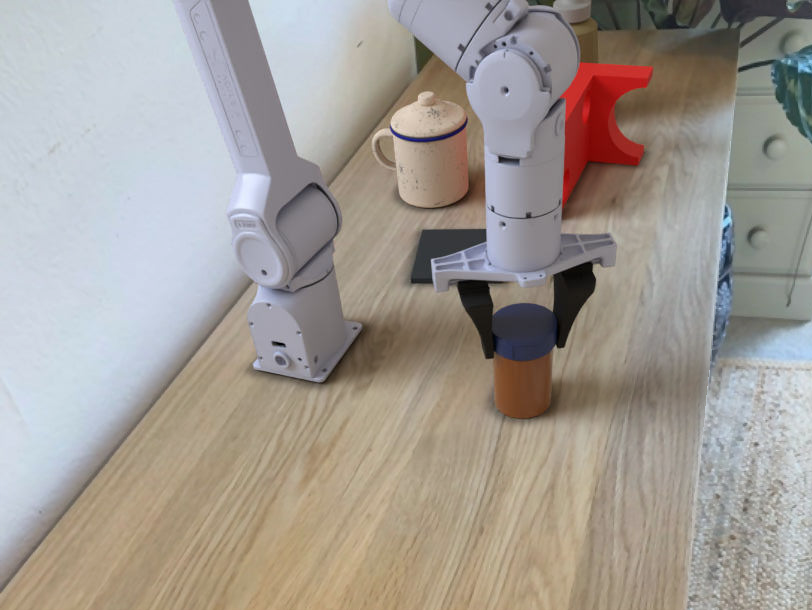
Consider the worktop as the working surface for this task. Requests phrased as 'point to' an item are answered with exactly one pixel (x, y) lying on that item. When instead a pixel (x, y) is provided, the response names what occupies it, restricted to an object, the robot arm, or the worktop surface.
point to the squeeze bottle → (581, 26)
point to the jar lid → (524, 331)
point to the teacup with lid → (428, 151)
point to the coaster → (443, 249)
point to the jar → (522, 385)
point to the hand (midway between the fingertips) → (522, 346)
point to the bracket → (598, 118)
